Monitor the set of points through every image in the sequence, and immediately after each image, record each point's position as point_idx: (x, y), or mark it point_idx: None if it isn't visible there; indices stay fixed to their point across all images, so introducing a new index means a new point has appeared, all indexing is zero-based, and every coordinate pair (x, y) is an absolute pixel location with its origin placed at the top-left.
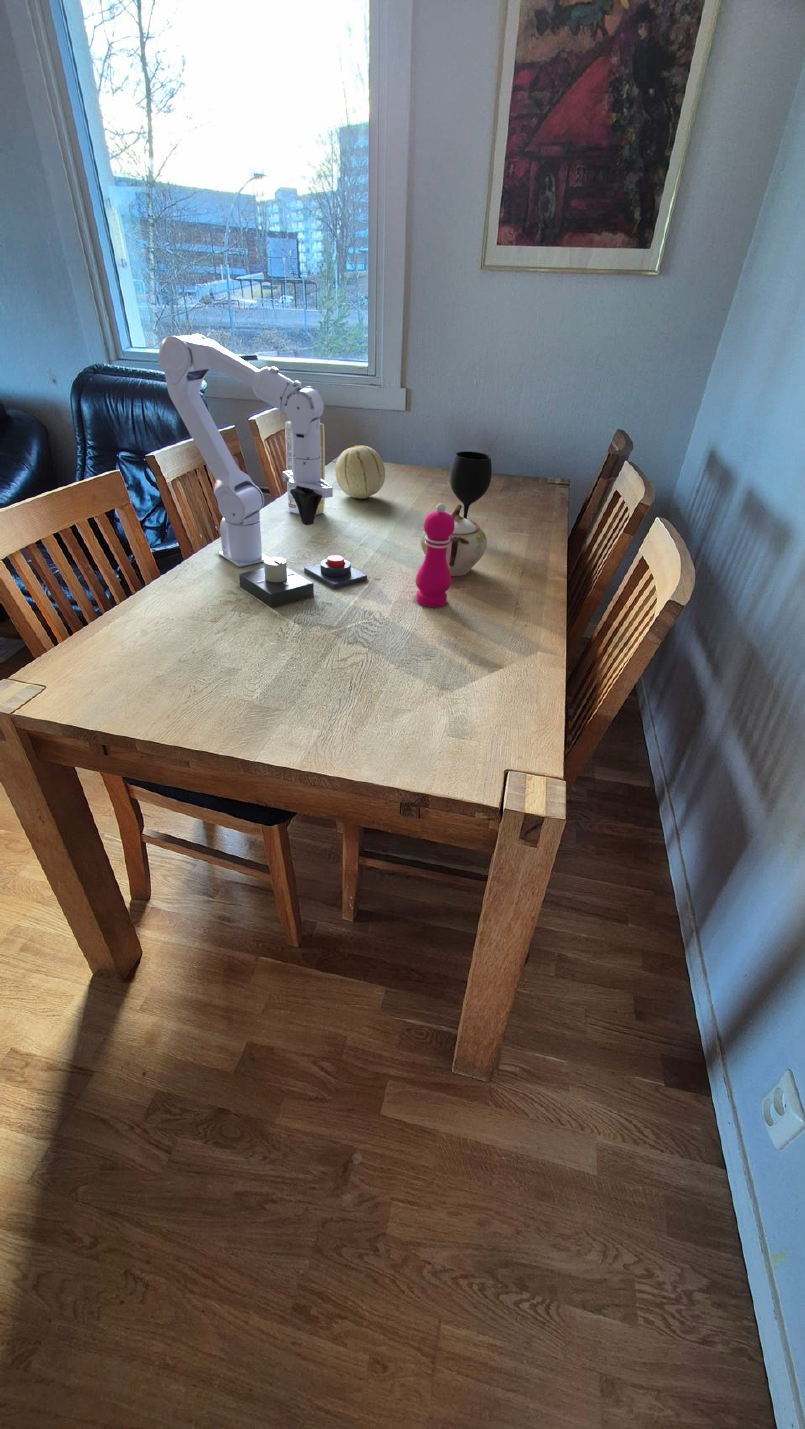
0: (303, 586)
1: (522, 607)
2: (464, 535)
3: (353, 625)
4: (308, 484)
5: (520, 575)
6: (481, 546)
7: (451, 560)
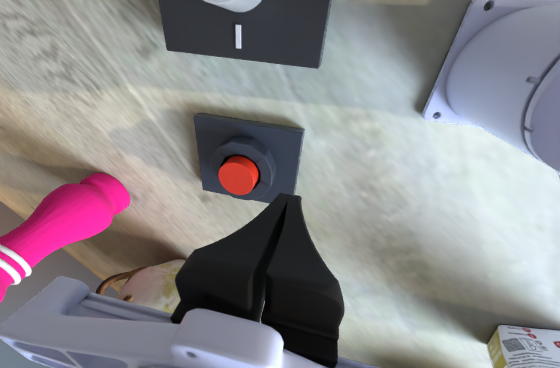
0: (161, 11)
1: None
2: None
3: (45, 19)
4: (97, 351)
5: None
6: None
7: (132, 271)
